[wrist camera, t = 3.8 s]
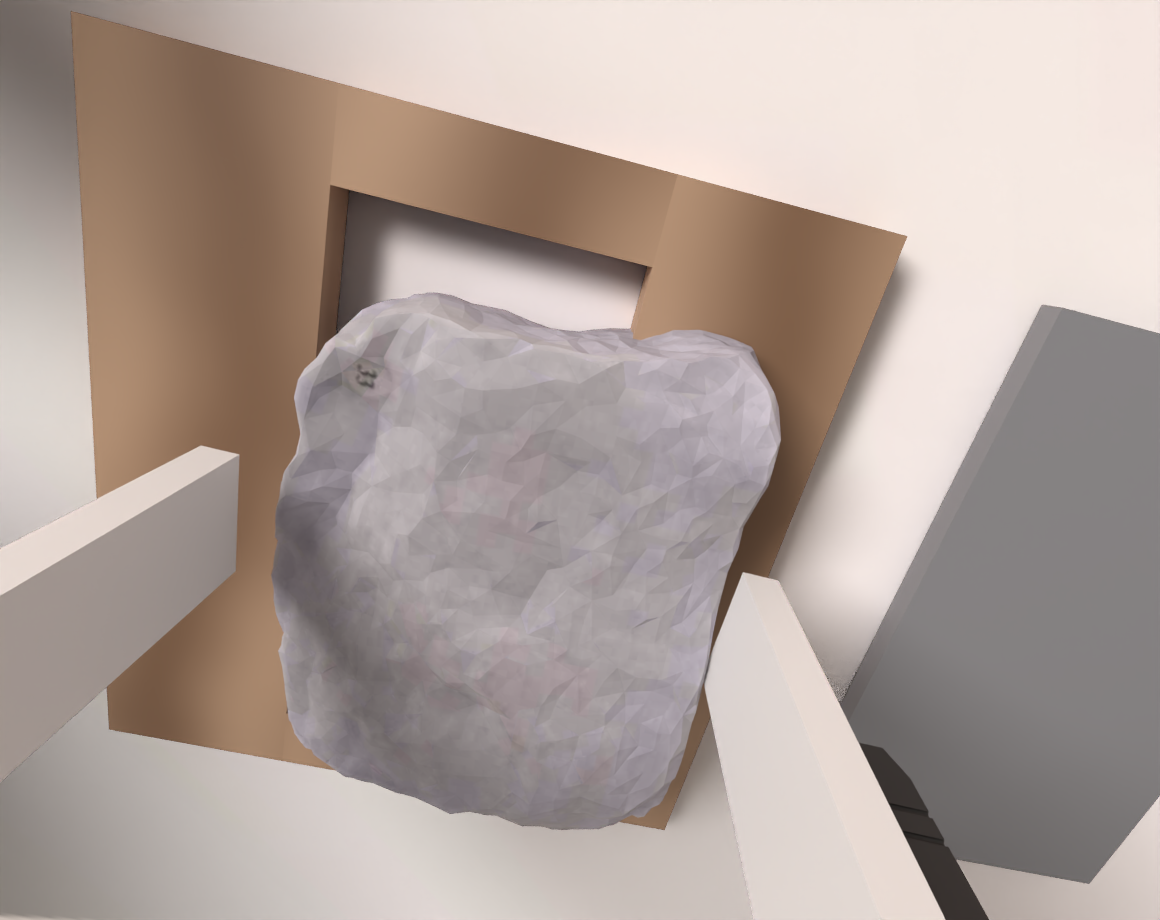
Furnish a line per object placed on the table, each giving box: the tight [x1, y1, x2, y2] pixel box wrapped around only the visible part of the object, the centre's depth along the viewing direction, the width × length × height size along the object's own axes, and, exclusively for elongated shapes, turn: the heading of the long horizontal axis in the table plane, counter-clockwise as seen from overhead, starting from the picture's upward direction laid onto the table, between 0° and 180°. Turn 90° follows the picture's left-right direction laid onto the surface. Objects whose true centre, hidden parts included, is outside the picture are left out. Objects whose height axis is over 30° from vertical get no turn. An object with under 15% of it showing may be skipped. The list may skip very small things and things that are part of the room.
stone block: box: [271, 293, 781, 830], centre depth 14 cm, size 12×5×10 cm
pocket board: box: [71, 11, 907, 830], centre depth 15 cm, size 16×17×1 cm
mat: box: [840, 305, 1160, 884], centre depth 16 cm, size 10×16×1 cm, turn 166°
